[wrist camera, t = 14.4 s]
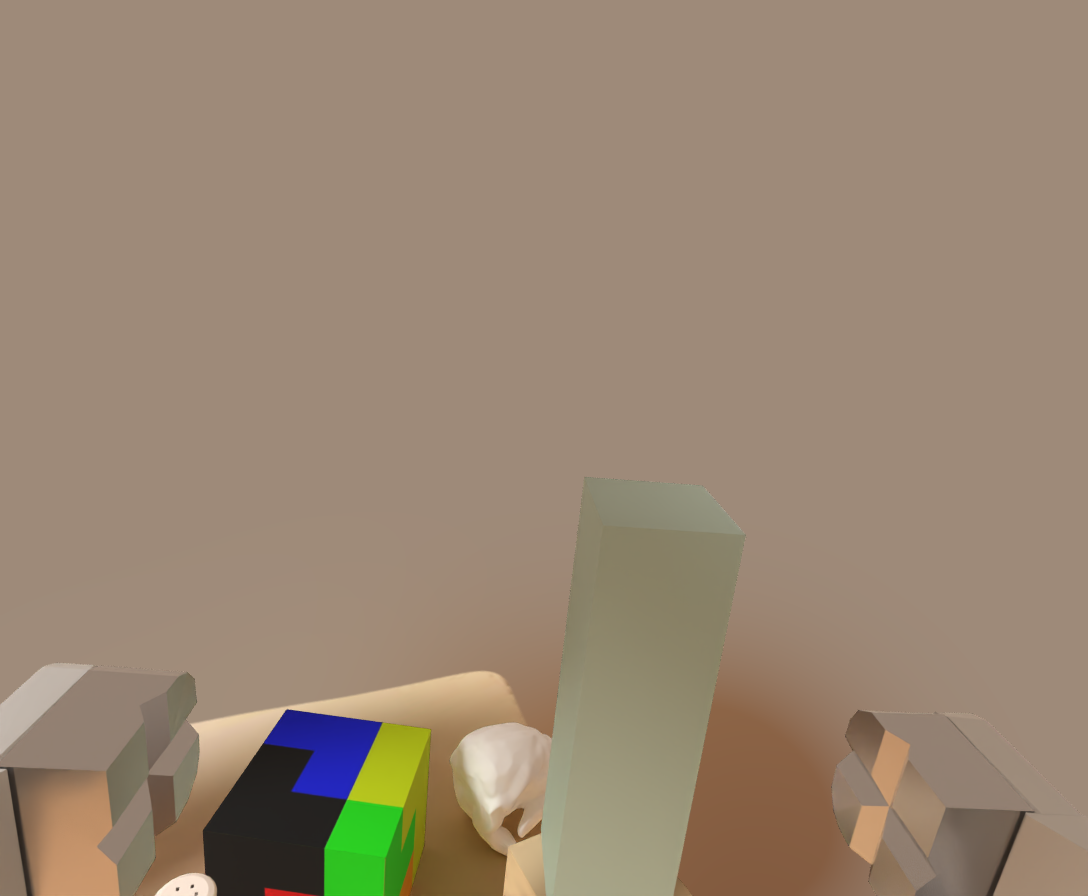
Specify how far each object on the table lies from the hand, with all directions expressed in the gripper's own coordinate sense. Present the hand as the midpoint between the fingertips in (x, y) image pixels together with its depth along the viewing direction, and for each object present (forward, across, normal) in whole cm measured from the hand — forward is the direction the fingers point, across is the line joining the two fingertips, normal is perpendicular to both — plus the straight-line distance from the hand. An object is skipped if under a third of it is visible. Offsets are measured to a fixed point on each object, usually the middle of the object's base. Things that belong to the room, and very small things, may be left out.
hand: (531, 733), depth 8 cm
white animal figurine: (+34, -4, +36) cm, 50 cm away
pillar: (+18, -6, +24) cm, 31 cm away
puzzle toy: (+26, +9, +36) cm, 45 cm away
